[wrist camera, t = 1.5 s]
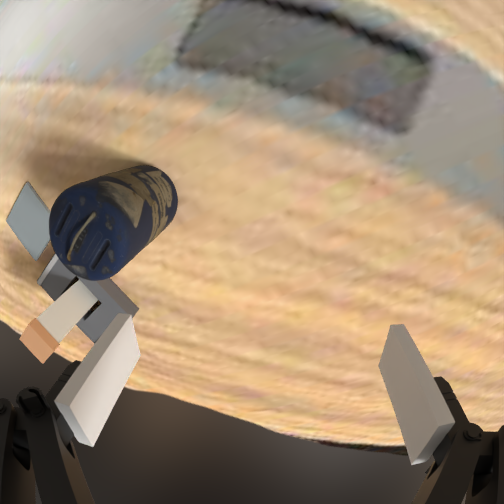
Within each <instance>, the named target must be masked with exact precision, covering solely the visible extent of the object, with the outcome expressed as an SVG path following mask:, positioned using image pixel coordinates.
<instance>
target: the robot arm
mask: <svg viewBox="0 0 504 504" xmlns="http://www.w3.org/2000/svg"><path fill="white" fill-rule="evenodd" d="M140 356H141V355H140V351H139V347H138V343H137V338H136V334H135V329H134V325H133V320H132V315H131V314H124V313H118V314H117V315H116V317H115V318H114V319H113V321H112V322H111V323H110V325H109V326H108V327H107V328H106V330H105V331H104V332H103V334H102V335H101V336H100V338H99V339H98V340H97V342H96V343H95V344H94V346H93V347H92V348H91V350H90V351H89V353H88V354H87V355H86V357H85V358H84V359H83V361H82V362H81V361H77V360H76V361H74V362H73V363H71V364H70V365H68V366H67V368H66V369H65V370H64V372H63V373H62V375H61V376H60V377H59V379H58V381H56V383H55V384H54V385H53V387H52V388H51V390H50V391H49V392H48V394H47V395H46V397H44V395H43V393H42V391H41V390H40V389H39V388H36V387H27V388H25V389H23V390H22V391H20V392H19V394H18V395H17V398H16V402H17V403H18V405H19V408H18V407H13V405H12V404H11V402H10V401H9V400H8V399H4V398H1V399H0V504H36V501H35V500H36V499H35V479H36V483H37V486H38V490H39V494H40V498H41V501H42V504H95V502H94V500H93V498H92V496H91V493H90V491H89V488H88V485H87V483H86V480H85V477H84V475H83V472H82V469H81V466H80V464H79V461H78V458H77V455H76V452H75V448H74V445H73V443H72V441H71V439H72V437H73V435H75V437H76V438H77V440H78V442H80V443H83V444H86V445H89V446H92V447H93V446H94V444H95V442H96V440H97V438H98V436H99V434H100V432H101V430H102V428H103V426H104V424H105V422H106V420H107V418H108V416H109V414H110V412H111V410H112V408H113V406H114V404H115V403H116V401H117V399H118V397H119V395H120V393H121V391H122V389H123V387H124V385H125V383H126V382H127V380H128V378H129V376H130V374H131V372H132V370H133V369H134V367H135V365H136V363H137V361H138V359H139V357H140ZM379 369H380V371H381V374H382V377H383V380H384V382H385V385H386V388H387V391H388V394H389V396H390V399H391V402H392V405H393V408H394V411H395V414H396V417H397V420H398V423H399V426H400V429H401V432H402V435H403V439H404V442H405V445H406V448H407V451H408V455H409V458H410V461H411V465H413V464H417V463H422V462H426V461H428V459H429V458H430V457H431V456H432V454H433V456H434V458H435V461H434V462H433V464H432V465H431V466H430V468H428V470H427V471H426V472H425V473H428V474H427V476H426V477H425V480H424V481H423V483H422V485H421V487H420V489H419V490H418V492H417V494H416V496H415V498H414V499H413V501H412V503H411V504H461V503H462V501H463V498H464V496H465V494H466V500H465V504H504V425H503V426H502V427H501V428H500V429H499V431H498V432H484V431H483V430H482V429H481V428H480V427H479V426H478V425H476V424H474V423H469V421H468V419H467V417H466V415H465V413H464V411H463V409H462V407H461V405H460V403H459V401H458V400H457V399H456V396H455V394H454V393H453V390H452V388H451V386H450V385H449V383H448V382H447V381H446V380H445V379H443V378H442V377H434V378H433V376H432V374H431V372H430V370H429V368H428V367H427V365H426V363H425V361H424V359H423V357H422V356H421V354H420V352H419V350H418V348H417V346H416V345H415V343H414V341H413V339H412V338H411V336H410V334H409V332H408V331H407V329H406V327H405V325H404V324H401V325H390V329H389V333H388V336H387V340H386V343H385V346H384V350H383V353H382V356H381V359H380V363H379ZM466 491H467V493H466Z"/></svg>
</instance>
